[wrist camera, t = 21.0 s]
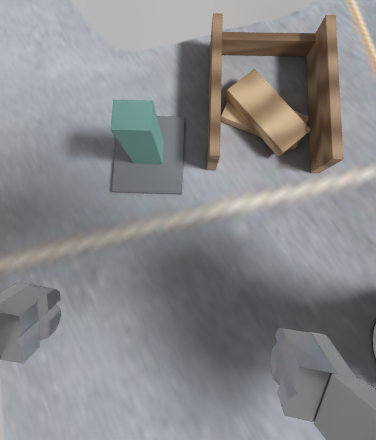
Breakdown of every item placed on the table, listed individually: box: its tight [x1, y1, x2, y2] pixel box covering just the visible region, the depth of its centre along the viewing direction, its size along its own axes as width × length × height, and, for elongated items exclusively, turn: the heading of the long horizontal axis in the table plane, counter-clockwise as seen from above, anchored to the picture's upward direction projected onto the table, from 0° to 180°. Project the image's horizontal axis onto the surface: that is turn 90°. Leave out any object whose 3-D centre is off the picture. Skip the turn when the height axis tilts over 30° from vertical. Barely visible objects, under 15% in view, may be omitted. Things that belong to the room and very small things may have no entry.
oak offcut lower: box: [221, 101, 309, 150], centre depth 38 cm, size 14×6×2 cm, turn 66°
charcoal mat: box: [112, 116, 185, 194], centre depth 38 cm, size 12×14×1 cm
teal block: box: [111, 100, 164, 164], centre depth 32 cm, size 5×4×11 cm
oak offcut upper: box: [225, 69, 311, 157], centre depth 36 cm, size 14×6×2 cm, turn 39°
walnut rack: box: [207, 14, 343, 173], centre depth 36 cm, size 24×20×6 cm
